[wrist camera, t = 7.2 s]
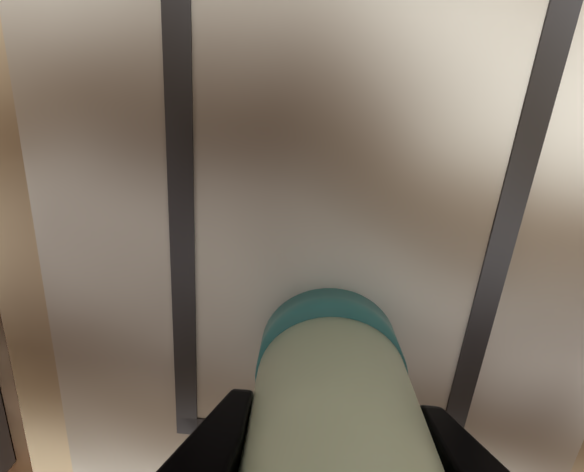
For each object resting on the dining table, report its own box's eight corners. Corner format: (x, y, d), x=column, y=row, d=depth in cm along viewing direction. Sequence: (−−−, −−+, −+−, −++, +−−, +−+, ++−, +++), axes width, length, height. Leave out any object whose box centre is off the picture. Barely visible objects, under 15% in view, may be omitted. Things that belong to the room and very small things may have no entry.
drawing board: (557, 522, 13) (583, 564, 12) (58, 475, 13) (34, 510, 12) (1040, -609, 5) (1245, -812, 4) (-141, -649, 6) (-256, -843, 5)
